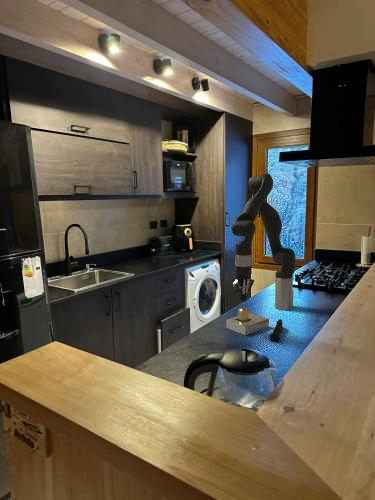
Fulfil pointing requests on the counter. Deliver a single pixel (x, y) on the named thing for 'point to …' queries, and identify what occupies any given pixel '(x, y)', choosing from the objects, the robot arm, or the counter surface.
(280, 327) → the hand tool
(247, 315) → the bushing
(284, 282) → the robot arm
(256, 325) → the block
